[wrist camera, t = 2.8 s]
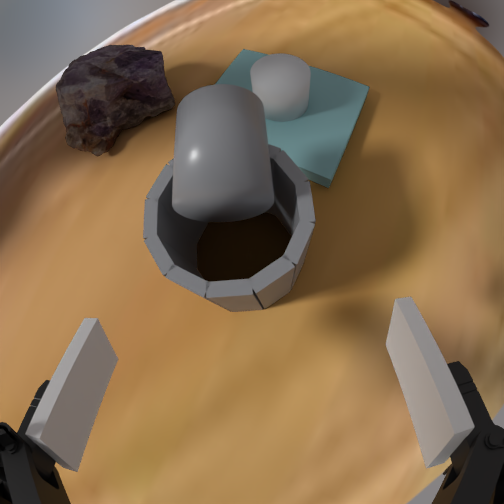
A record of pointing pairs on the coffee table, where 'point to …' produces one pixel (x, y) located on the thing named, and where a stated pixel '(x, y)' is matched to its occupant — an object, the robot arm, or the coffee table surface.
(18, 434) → the robot arm
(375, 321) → the coffee table surface
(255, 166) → the elbow
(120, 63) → the rock
